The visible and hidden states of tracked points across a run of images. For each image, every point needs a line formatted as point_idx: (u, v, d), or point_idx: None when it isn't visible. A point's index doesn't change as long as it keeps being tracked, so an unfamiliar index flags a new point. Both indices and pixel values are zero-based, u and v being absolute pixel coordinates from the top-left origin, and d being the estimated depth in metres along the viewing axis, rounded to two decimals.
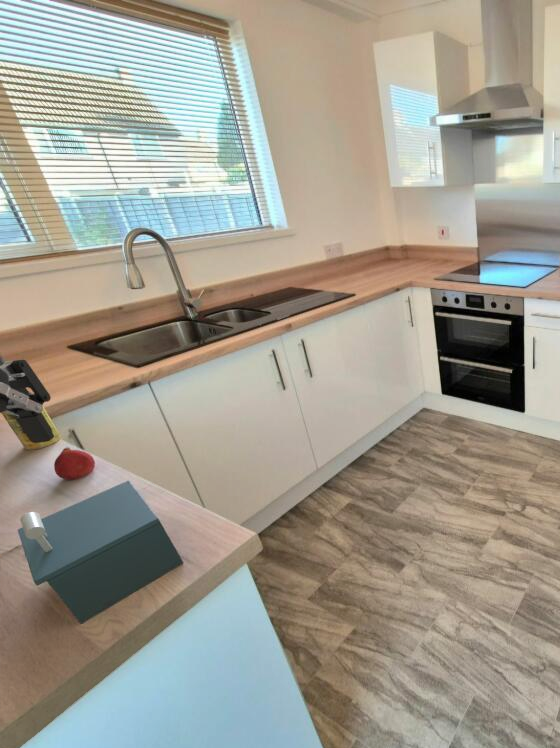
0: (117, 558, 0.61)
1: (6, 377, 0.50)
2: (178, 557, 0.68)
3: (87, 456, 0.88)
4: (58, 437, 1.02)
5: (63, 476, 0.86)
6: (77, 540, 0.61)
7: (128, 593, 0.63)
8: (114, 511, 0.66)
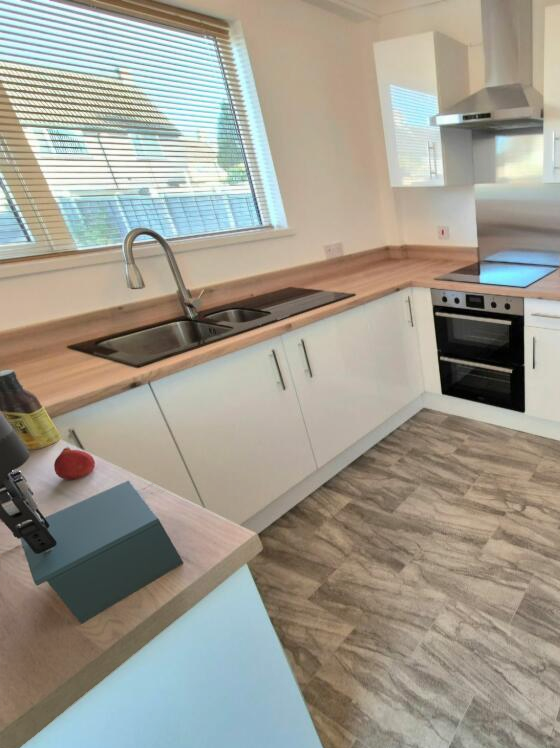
0: (117, 558, 0.61)
1: None
2: (178, 557, 0.68)
3: (87, 456, 0.88)
4: (58, 437, 1.02)
5: (63, 476, 0.86)
6: (77, 540, 0.61)
7: (128, 593, 0.63)
8: (114, 511, 0.66)
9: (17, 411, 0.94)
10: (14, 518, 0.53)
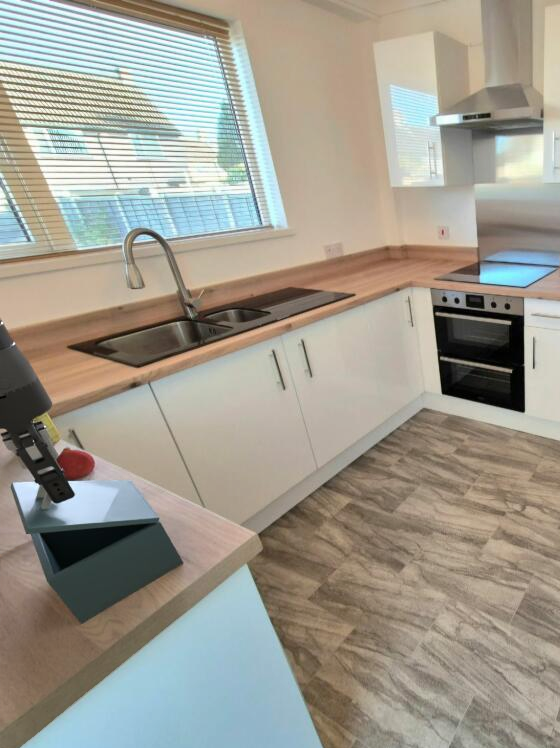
0: (117, 558, 0.61)
1: None
2: (178, 557, 0.68)
3: (87, 456, 0.88)
4: (58, 437, 1.02)
5: None
6: (75, 509, 0.60)
7: (128, 593, 0.63)
8: (115, 499, 0.66)
9: None
10: (37, 463, 0.53)
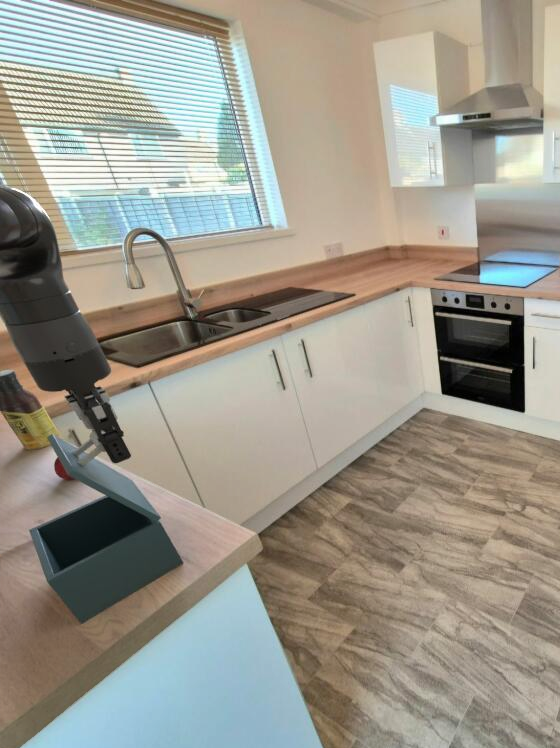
0: (117, 558, 0.61)
1: None
2: (178, 557, 0.68)
3: None
4: None
5: (63, 476, 0.86)
6: (101, 477, 0.61)
7: (128, 593, 0.63)
8: (125, 486, 0.66)
9: (17, 411, 0.94)
10: (101, 422, 0.57)
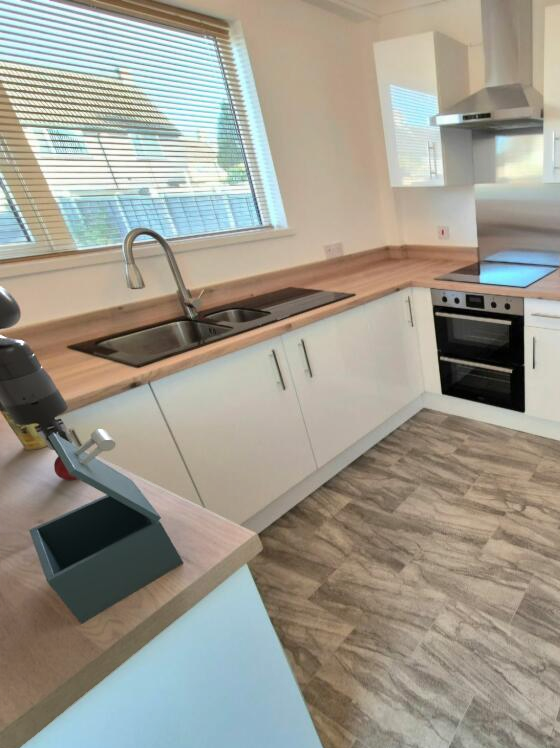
0: (117, 558, 0.61)
1: None
2: (178, 557, 0.68)
3: None
4: None
5: (63, 476, 0.86)
6: (102, 476, 0.61)
7: (128, 593, 0.63)
8: (126, 486, 0.66)
9: None
10: None
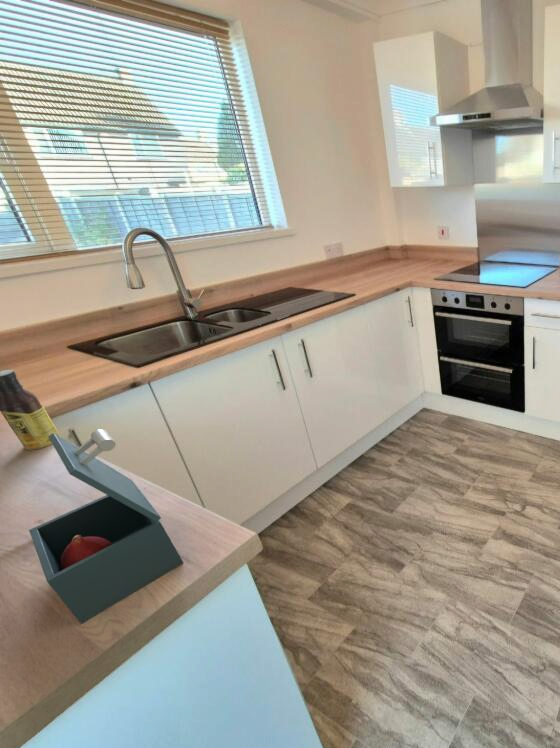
0: (117, 558, 0.61)
1: None
2: (178, 557, 0.68)
3: (105, 545, 0.65)
4: None
5: None
6: (102, 476, 0.61)
7: (128, 593, 0.63)
8: (126, 486, 0.66)
9: (17, 411, 0.94)
10: None
